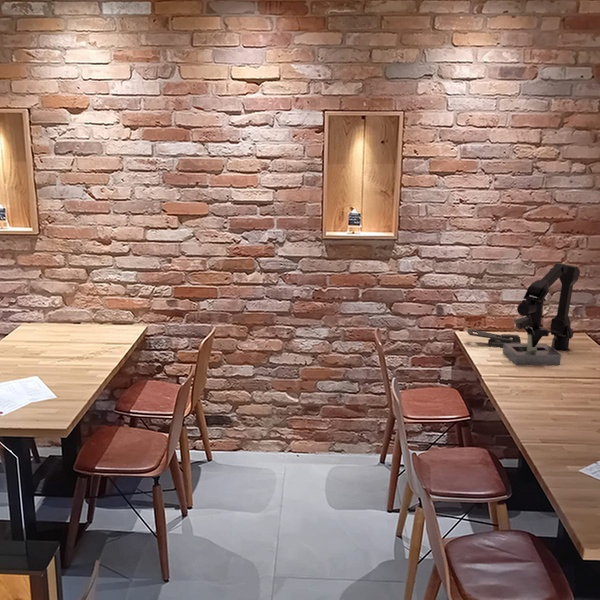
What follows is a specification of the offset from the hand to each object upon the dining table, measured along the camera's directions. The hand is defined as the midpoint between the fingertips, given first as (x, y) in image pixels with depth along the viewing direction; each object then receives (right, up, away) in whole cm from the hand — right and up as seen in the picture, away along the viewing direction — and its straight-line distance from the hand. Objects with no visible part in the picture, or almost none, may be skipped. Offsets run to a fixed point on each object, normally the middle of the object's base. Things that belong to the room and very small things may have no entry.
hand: (532, 345), depth 322 cm
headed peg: (0, -5, +1) cm, 5 cm away
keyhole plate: (0, -6, +1) cm, 6 cm away
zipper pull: (-12, -1, +20) cm, 24 cm away
